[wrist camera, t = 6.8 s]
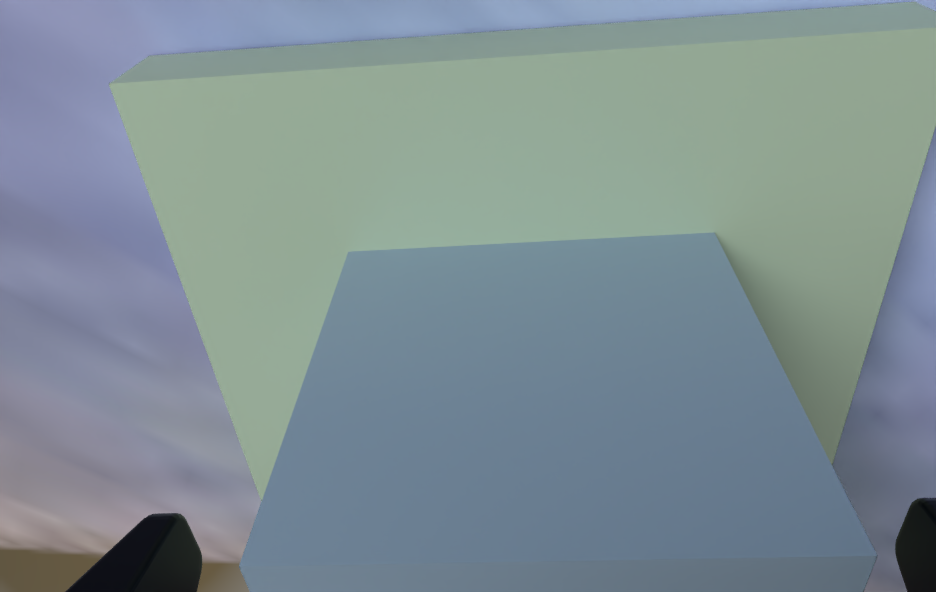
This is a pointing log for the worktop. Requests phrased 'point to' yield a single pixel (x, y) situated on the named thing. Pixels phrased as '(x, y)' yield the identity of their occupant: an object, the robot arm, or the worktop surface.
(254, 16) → the worktop surface
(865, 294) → the green block
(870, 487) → the worktop surface
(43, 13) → the worktop surface
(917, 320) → the worktop surface
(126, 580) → the robot arm
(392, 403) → the blue block
